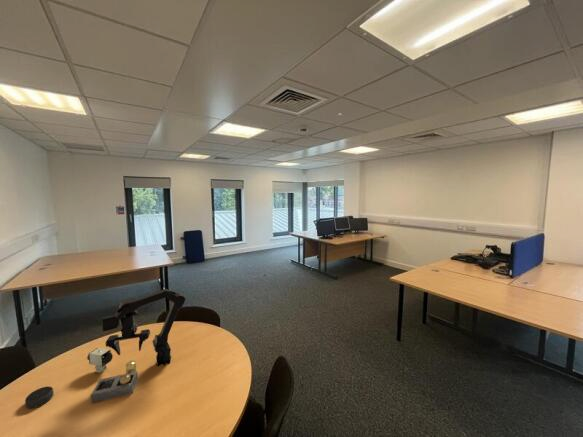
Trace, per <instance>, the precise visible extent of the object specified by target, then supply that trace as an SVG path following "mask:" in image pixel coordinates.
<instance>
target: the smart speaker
mask: <svg viewBox="0 0 583 437" xmlns="http://www.w3.org/2000/svg"><path fill="white" fill-rule="evenodd" d="M53 396H54V388H53V387H52V386H43V387H40V388H37V389H35V390H34V391H32V392H31V393H29V394H28V395H27V396H26V398H25V400H24V404H25V407H26V408H28V409H34V408H37V407H40V406H42V405H44V404H46V403H47V402H49V401H50V400H51V399H52V398H53Z"/></svg>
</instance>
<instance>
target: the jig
mask: <svg viewBox="0 0 583 437" xmlns="http://www.w3.org/2000/svg"><path fill="white" fill-rule="evenodd" d="M122 375H123V374H120V375H119V374H118V375H115V376H109V377H105V378H100V379H99V380H98V382H97V384H96V385H95V387H94V388H93V390H92V393H91V395H90V399H91V400H90V401H91V404H94V403H99V402H102V401H107V400H111V399H115V398H118V397H122V396H126V395H132V394H133V393H134V390H135V388H136V385H137V381H138V379H139V377H138V376H139V375H138V371H136V372H132V373H130V375H131V383H129V384H124V385H120V377H121V376H122Z"/></svg>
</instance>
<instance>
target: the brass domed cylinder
mask: <svg viewBox="0 0 583 437" xmlns="http://www.w3.org/2000/svg"><path fill="white" fill-rule="evenodd" d="M125 372H126V373H132V372H137V361H136V360H130V361H128V362H126V364H125ZM126 373H125V374H126Z"/></svg>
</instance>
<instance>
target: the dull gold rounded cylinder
mask: <svg viewBox="0 0 583 437" xmlns="http://www.w3.org/2000/svg"><path fill="white" fill-rule="evenodd" d="M121 375H122V376H121V377H120V385H124V384H129V383H131V375H130V373H123V374H121Z"/></svg>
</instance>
